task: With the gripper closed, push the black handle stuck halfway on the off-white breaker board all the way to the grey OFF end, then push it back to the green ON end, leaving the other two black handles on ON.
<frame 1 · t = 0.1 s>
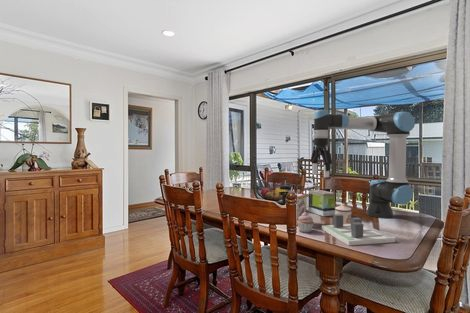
hand: (320, 175, 151), 28 cm above the table, tool pointing down, fingers open, 13 cm apart
tea box: (321, 213, 179), on the table
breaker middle: (356, 224, 135), point 5 cm above the table, slide at 5.0 cm
breaker 2: (357, 229, 126), point 6 cm above the table, slide at 10.0 cm
cupcake: (305, 231, 141), on the table
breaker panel: (355, 235, 135), on the table
teacup with lid: (343, 223, 155), on the table
candy bar box: (297, 223, 156), on the table
breaker 1: (338, 220, 141), point 6 cm above the table, slide at 10.0 cm
french press: (284, 210, 189), on the table
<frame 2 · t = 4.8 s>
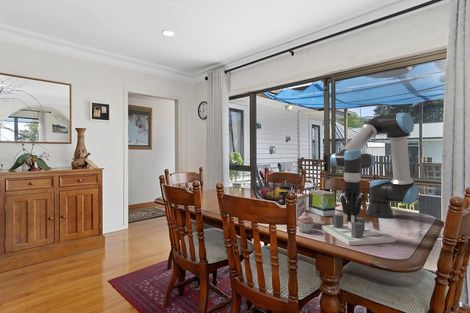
hand: (351, 228, 134), 4 cm above the table, tool pointing down, fingers closed
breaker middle: (359, 224, 135), point 5 cm above the table, slide at 3.3 cm, touching gripper
everything else where it was.
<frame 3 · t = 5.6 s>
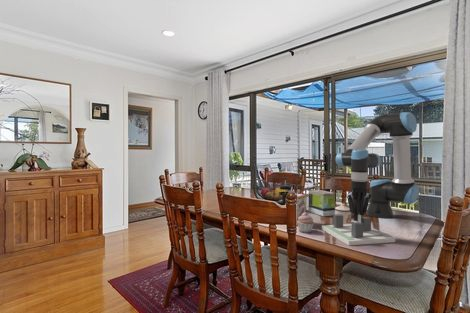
hand: (357, 227, 135), 4 cm above the table, tool pointing down, fingers closed
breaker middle: (365, 223, 135), point 6 cm above the table, slide at -0.2 cm, touching gripper
everything else where it was.
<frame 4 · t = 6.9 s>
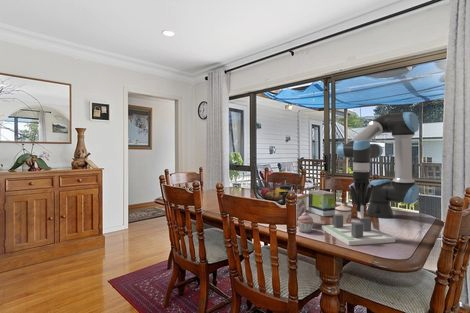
hand: (360, 217, 135), 9 cm above the table, tool pointing down, fingers closed
nothing on the table moved.
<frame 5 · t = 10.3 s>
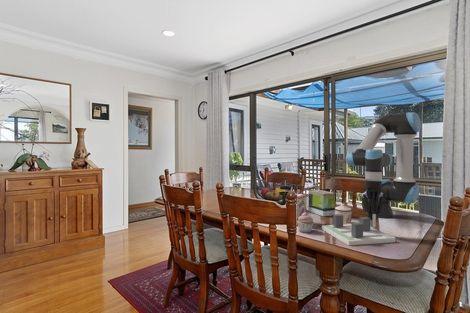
hand: (372, 226, 136), 4 cm above the table, tool pointing down, fingers closed
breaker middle: (364, 223, 135), point 5 cm above the table, slide at 0.1 cm, touching gripper
everything else where it was.
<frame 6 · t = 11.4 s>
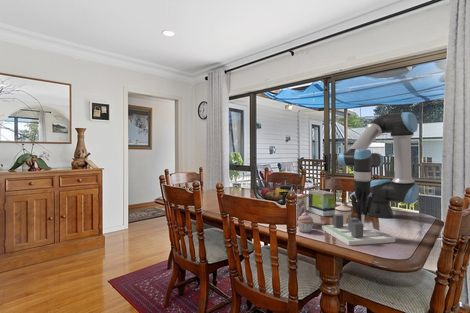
hand: (361, 226, 135), 4 cm above the table, tool pointing down, fingers closed
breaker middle: (353, 224, 134), point 5 cm above the table, slide at 6.4 cm, touching gripper
everything else where it was.
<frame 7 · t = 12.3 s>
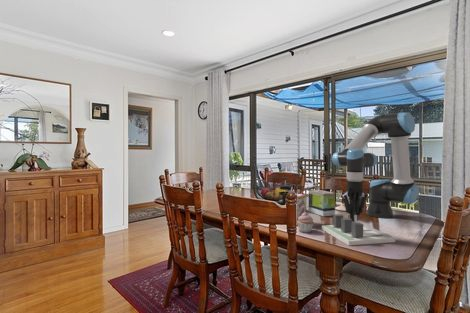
hand: (354, 227, 134), 4 cm above the table, tool pointing down, fingers closed
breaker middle: (346, 224, 134), point 6 cm above the table, slide at 10.3 cm, touching gripper
everything else where it was.
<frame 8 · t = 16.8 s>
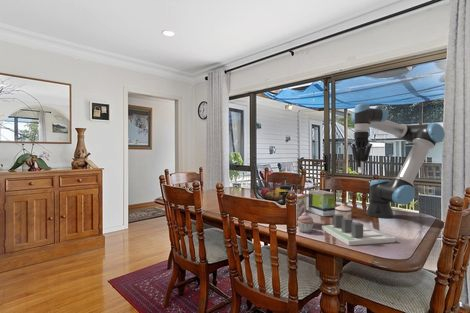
hand: (360, 172, 154), 29 cm above the table, tool pointing down, fingers closed
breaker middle: (346, 224, 134), point 5 cm above the table, slide at 10.1 cm
everything else where it was.
at the end: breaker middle slide at 10.1 cm; breaker 2 slide at 10.0 cm; breaker 1 slide at 10.0 cm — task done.
